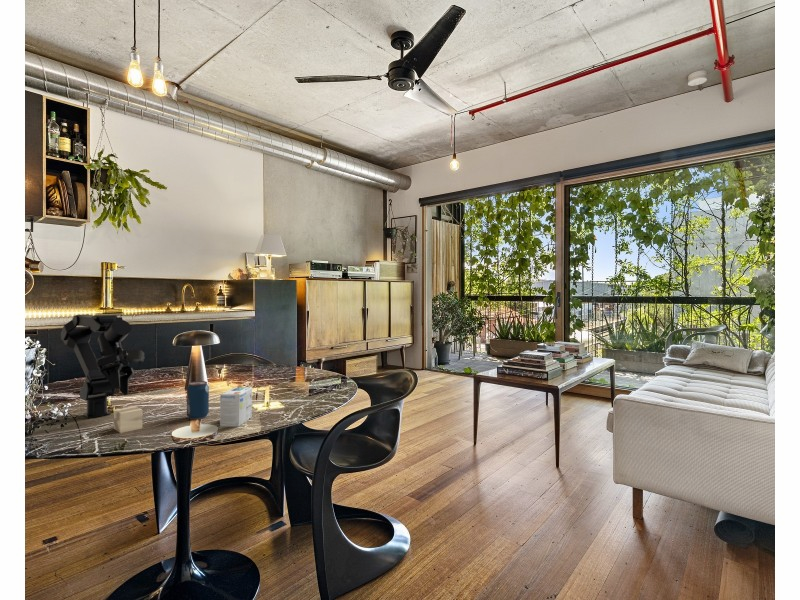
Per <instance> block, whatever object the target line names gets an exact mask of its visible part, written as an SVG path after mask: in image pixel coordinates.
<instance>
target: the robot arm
mask: <svg viewBox="0 0 800 600" xmlns="http://www.w3.org/2000/svg"><path fill="white" fill-rule="evenodd" d="M131 332H132V325H131V324H130V323H129V322H128V321H127V320H124V319H123V317H122V316H117V314H100V315H99V314H98V315H97V314H95V315H92V314H87V313H85V314H76V315H73V317H72V319H71V320H70V321H67V323H65V324H64V325H63V327H62V330H61V332H60V339H61V341H63V343H64V345H65V347H68V348H70V349H72V350H73V351H74V354H75V356H76V358H77V359H78V362H79V364H80V366H81V369H82V371H83V372H84V375H85V379H84V382H83V385H82V387H81V389H80V392H79V399H80V400H82V401H84V402H85V401H86V412H84V413H83V414H82V415H83V416H84V417H85V418H87V419H91V418H93V419H94V418H98V417H102V416H108V415H111V414H112V413H111V412H110V411H108V397H114V395H115V390H119V391H120V392H121V393H122V394H123V396H127V395H129V386H130V385H129V384H130V380H131V378H133V377H134V376H135V371H134V368H133V367H131V366H129V363H139V364H142V363H144V360H145V352H144V351H143V350H141V349H127V350H125V349H123V346H122V343H121V342H122V341H123V340H125V338H126V337H127V336H128V335H129V334H130V333H131ZM93 333H101V334H99V336H98V337H97V341H96V342H97V343H98V344H99V347H100V352H99V354H100V356H101V357H100V358H99V357H98V358H97V357H96V355H95V353H94V351H93V349H92V346H91V345H90V341H91V338H92V335H93Z"/></svg>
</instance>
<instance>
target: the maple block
mask: <svg viewBox="0 0 800 600" xmlns="http://www.w3.org/2000/svg"><path fill="white" fill-rule="evenodd" d="M113 429H114V430H115V431H117V432H118V433H120V434H122V433H123V434H124V433H126V432H131V431H135V430H139V429H140V430H141V429H143V409H142V408H140V407H138V406H136V405H134V406H128V407H123V408H117V409H114V410H113Z"/></svg>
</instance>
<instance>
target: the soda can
mask: <svg viewBox="0 0 800 600" xmlns="http://www.w3.org/2000/svg"><path fill="white" fill-rule="evenodd" d="M209 400H210V386H209V384H208V382H207V380H206V381H205V380H200V381H198V380H197V381H191V382H189V383H188V386H187V388H186V416H187V418H188V419H189V420H201V419H204V418H206V417H208V414H209V413H210V412H209V411H210V407H209V405H210V401H209Z"/></svg>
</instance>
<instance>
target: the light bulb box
mask: <svg viewBox="0 0 800 600" xmlns="http://www.w3.org/2000/svg"><path fill="white" fill-rule="evenodd" d="M219 397H220V398H219V399H220V400H219V401H220V402H219V403H220V405H219V406H220V407H219V408H220V409H219V413H220V415H219V416H220V417H219V427H229V428H231V427H233V428H235V427H236V428H239V427H240V426H242V425H243V424H244V423H246V422H247V421H249V418H250V419H252V414H253V412H252V411H253V410H252V408H253V407H252V405H253V404H252V403H253V401H252V400H253V399H252V398H253V387H251V386H238V387H237V386H233V387H231V388H229V390H226V391H224V392H223V393H220V395H219Z"/></svg>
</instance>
